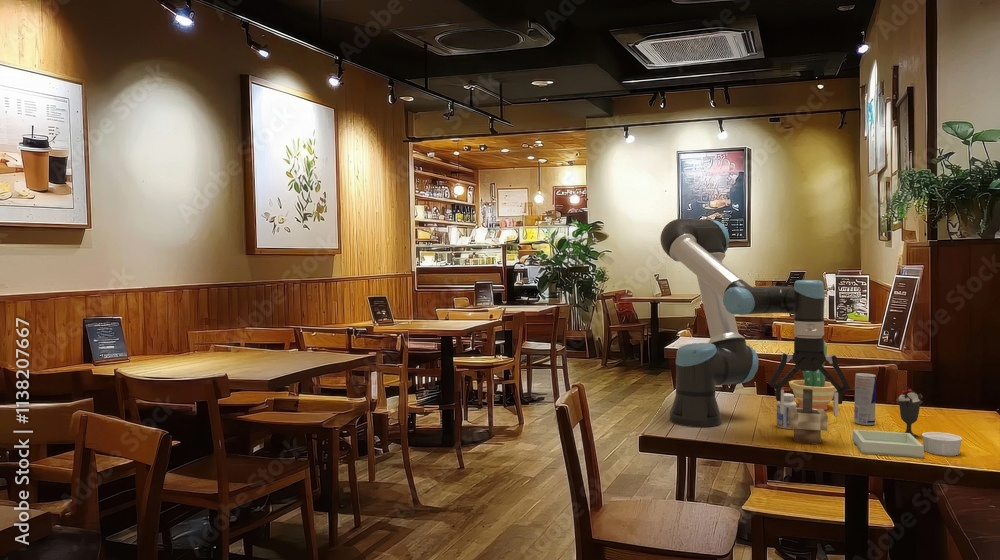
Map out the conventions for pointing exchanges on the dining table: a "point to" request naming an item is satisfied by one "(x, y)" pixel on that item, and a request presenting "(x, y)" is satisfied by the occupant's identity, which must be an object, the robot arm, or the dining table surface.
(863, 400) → the beverage can
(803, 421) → the ring
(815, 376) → the potted cactus
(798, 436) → the stake
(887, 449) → the tray
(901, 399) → the sundae
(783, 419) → the pill bottle
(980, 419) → the dining table surface
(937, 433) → the ramekin
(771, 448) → the dining table surface
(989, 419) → the dining table surface
